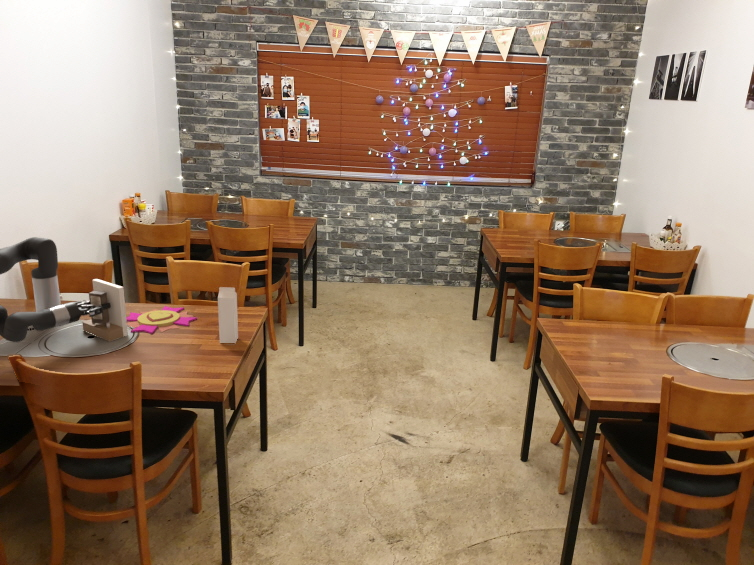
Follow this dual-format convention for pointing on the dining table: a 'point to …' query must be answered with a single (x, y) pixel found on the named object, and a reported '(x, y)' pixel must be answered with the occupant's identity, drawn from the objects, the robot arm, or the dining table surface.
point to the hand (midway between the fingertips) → (104, 303)
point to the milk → (227, 315)
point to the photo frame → (99, 299)
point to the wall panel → (110, 313)
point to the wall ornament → (159, 320)
